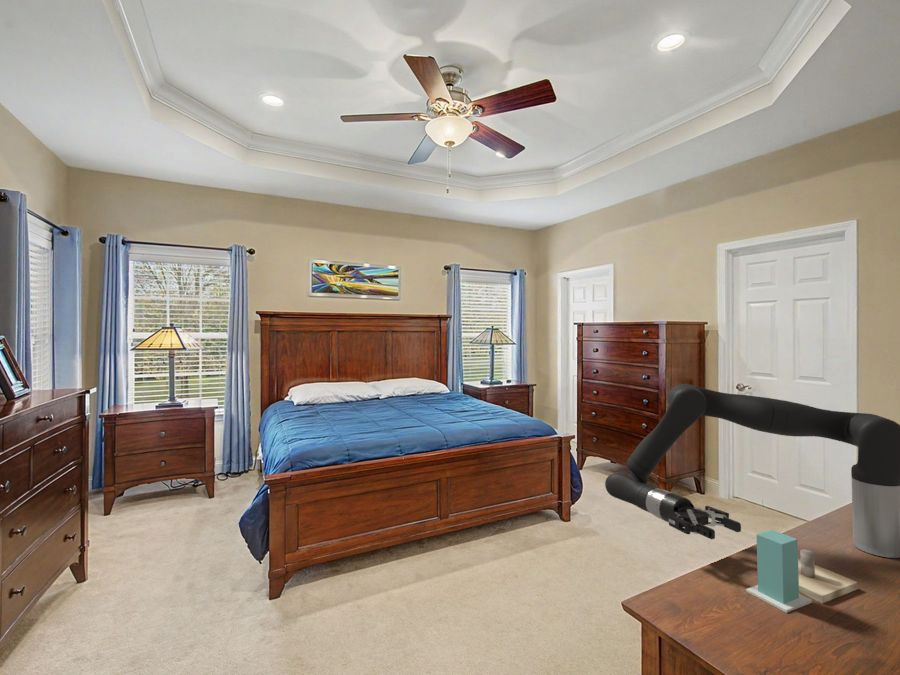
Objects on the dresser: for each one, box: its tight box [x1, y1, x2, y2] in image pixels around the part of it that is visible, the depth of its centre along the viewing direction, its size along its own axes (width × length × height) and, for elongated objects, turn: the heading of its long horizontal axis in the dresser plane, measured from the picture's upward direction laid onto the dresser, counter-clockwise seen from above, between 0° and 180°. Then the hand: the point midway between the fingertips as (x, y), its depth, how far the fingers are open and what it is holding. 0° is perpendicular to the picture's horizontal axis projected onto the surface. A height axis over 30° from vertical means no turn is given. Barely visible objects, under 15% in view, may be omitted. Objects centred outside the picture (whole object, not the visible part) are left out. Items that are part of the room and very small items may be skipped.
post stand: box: [798, 548, 859, 604], centre depth 98 cm, size 12×12×6 cm
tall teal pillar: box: [755, 529, 800, 604], centre depth 92 cm, size 5×5×12 cm
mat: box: [745, 584, 813, 614], centre depth 92 cm, size 8×8×1 cm
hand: (727, 531), depth 102 cm, fingers open, 8 cm apart
